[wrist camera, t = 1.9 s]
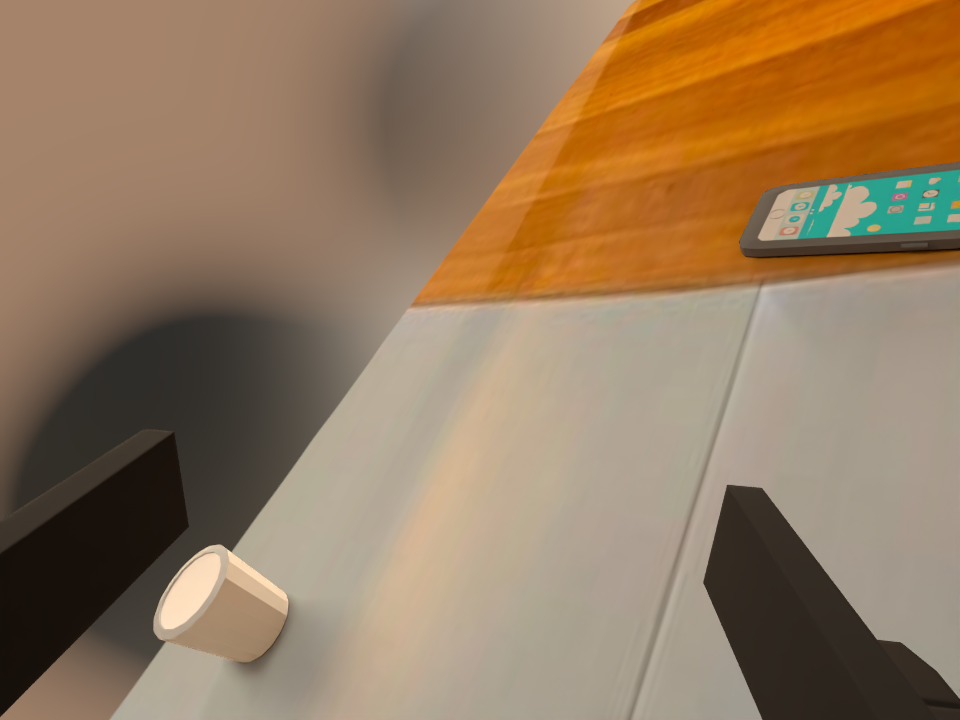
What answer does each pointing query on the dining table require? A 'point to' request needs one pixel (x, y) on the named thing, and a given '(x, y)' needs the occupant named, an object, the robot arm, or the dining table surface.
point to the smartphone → (859, 214)
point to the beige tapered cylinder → (221, 607)
